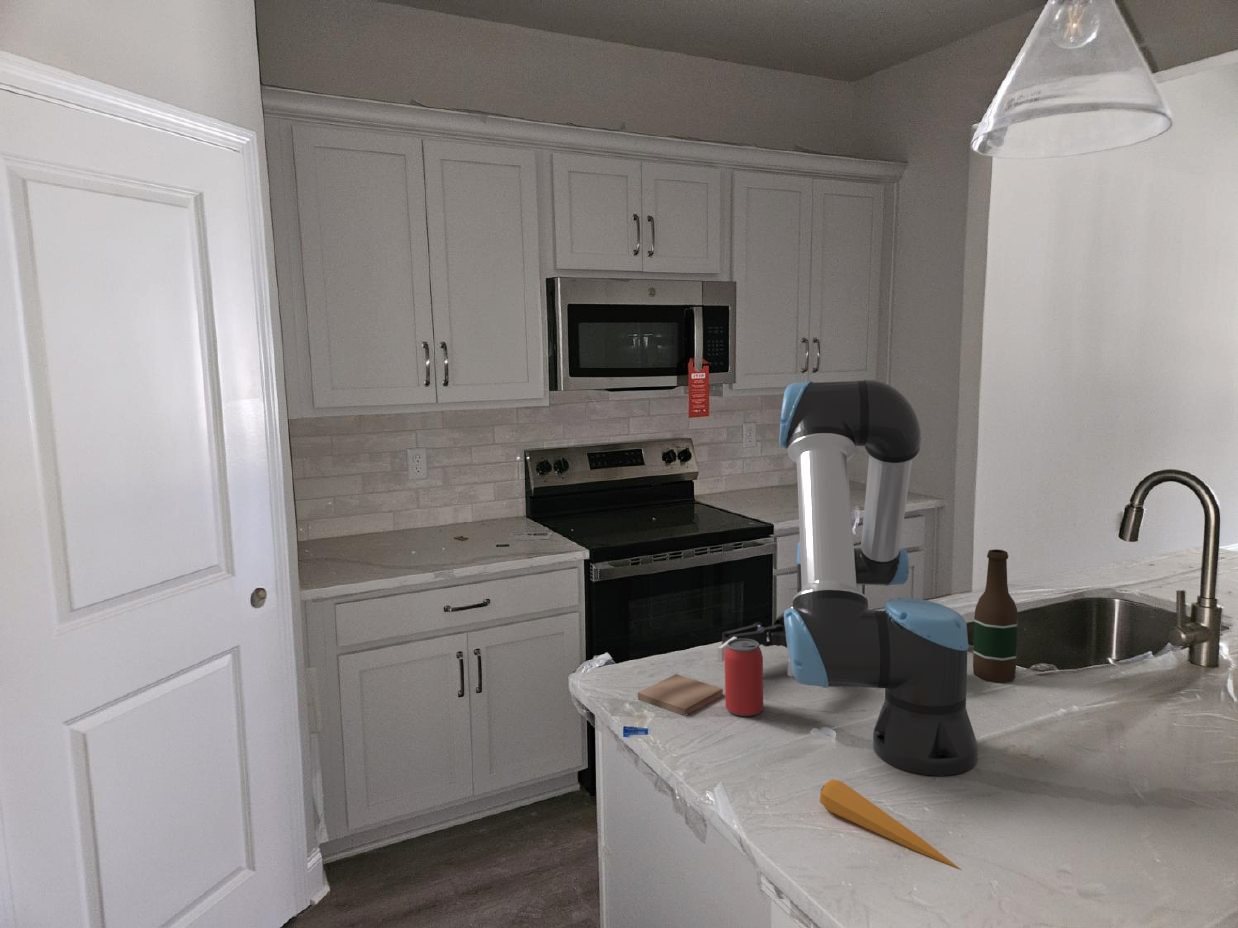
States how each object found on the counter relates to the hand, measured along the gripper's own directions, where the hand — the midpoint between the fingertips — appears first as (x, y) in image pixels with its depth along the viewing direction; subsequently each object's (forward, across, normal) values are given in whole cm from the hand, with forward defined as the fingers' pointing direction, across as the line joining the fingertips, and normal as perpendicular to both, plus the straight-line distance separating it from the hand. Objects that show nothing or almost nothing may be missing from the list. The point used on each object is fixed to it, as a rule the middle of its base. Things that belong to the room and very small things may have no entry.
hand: (753, 661), depth 147 cm
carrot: (+30, -32, -7) cm, 44 cm away
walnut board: (+6, +12, -7) cm, 15 cm away
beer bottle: (-30, -35, -7) cm, 47 cm away
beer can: (+5, 0, -7) cm, 9 cm away
